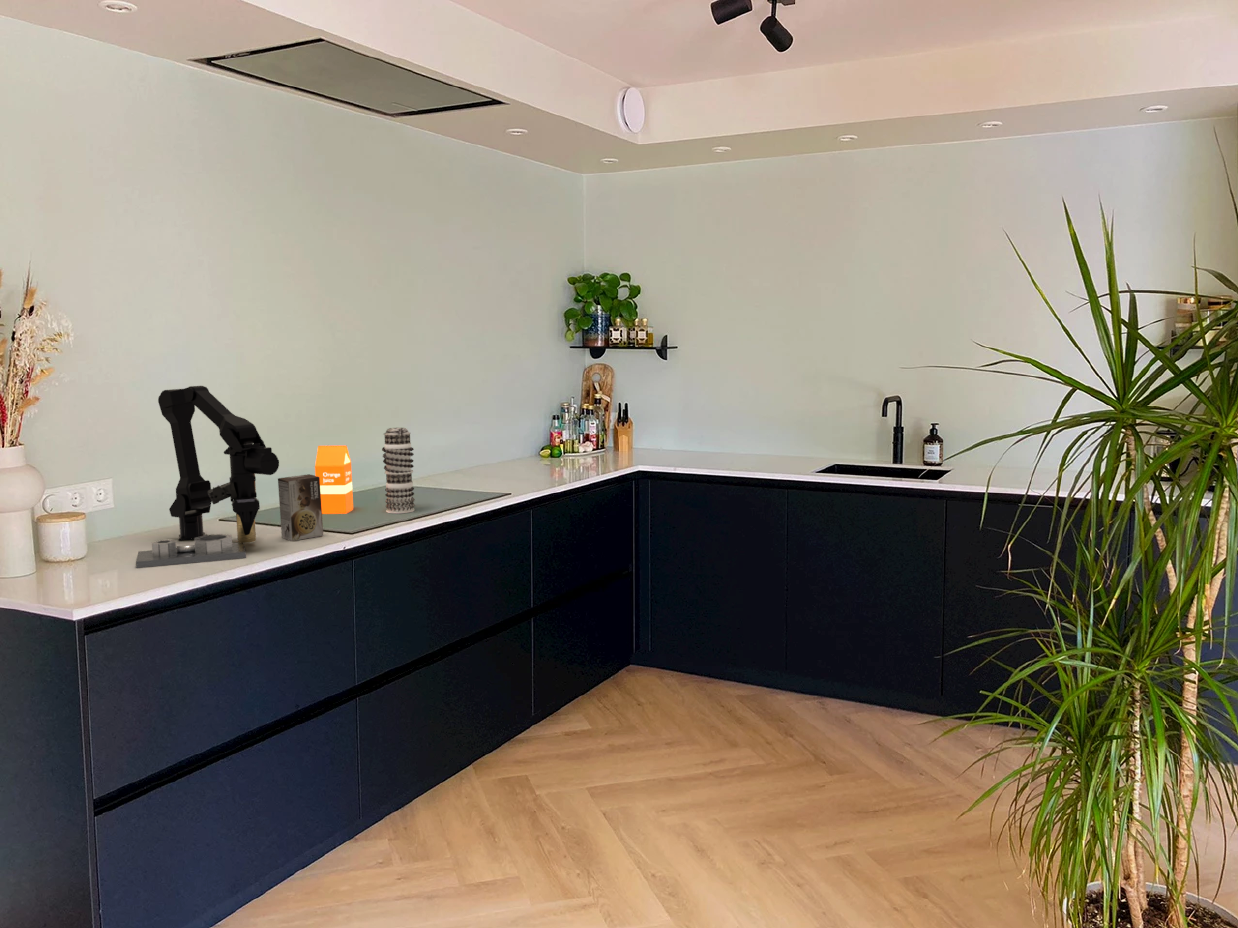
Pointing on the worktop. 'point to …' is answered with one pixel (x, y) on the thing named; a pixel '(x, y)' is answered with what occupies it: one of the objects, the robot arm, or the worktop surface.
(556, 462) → the worktop surface
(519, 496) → the worktop surface
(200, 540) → the manifold
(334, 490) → the orange juice
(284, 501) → the coffee box
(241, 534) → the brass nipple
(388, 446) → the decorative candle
